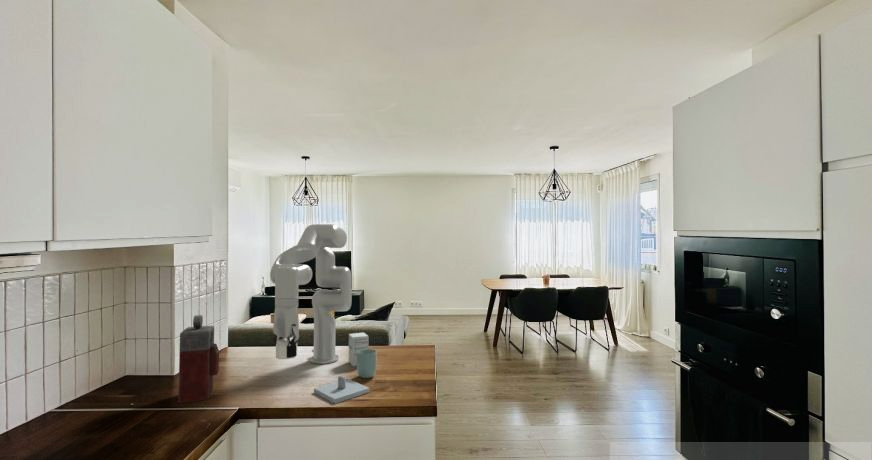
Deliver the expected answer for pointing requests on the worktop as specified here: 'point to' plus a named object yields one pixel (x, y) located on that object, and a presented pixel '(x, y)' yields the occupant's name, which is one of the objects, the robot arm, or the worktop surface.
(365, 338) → the supplement box
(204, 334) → the red grey canister
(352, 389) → the stud plate
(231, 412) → the worktop surface
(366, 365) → the cup
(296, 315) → the robot arm
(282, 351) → the cap
